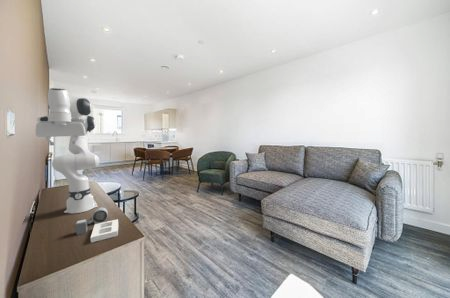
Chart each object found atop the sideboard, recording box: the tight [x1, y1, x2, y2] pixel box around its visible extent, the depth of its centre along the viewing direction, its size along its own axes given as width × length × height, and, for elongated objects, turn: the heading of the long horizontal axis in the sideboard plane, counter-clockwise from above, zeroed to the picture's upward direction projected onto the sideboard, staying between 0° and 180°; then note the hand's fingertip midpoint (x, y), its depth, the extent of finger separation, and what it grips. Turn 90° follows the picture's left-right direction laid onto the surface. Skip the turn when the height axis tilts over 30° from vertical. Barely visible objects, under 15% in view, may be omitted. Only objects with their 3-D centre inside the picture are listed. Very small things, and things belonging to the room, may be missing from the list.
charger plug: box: [75, 219, 88, 236], centre depth 98 cm, size 4×4×6 cm
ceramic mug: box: [86, 207, 109, 225], centre depth 111 cm, size 11×8×8 cm
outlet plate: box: [90, 219, 119, 243], centre depth 97 cm, size 16×11×2 cm
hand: (63, 144), depth 100 cm, fingers open, 8 cm apart
